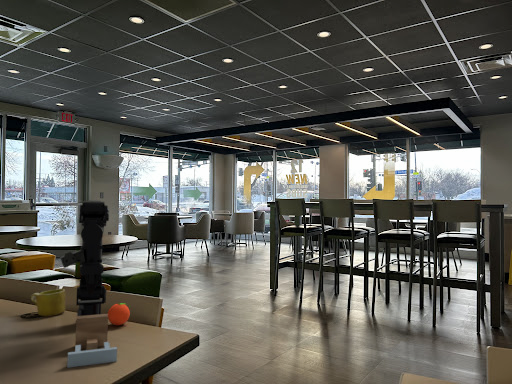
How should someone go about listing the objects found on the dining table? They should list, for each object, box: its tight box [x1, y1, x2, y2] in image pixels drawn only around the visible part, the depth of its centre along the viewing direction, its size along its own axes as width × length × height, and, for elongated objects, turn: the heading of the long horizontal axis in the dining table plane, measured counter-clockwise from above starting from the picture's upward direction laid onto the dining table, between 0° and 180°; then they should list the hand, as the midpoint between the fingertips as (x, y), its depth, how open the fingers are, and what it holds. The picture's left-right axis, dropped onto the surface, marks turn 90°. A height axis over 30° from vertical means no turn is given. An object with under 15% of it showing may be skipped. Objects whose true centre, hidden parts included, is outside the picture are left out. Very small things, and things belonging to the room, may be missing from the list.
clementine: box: [107, 302, 132, 326], centre depth 128 cm, size 8×7×7 cm
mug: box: [30, 288, 66, 318], centre depth 141 cm, size 12×10×10 cm
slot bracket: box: [66, 341, 118, 368], centre depth 97 cm, size 6×11×3 cm, turn 114°
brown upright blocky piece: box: [74, 313, 109, 351], centre depth 104 cm, size 9×8×8 cm
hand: (90, 293), depth 118 cm, fingers open, 3 cm apart
